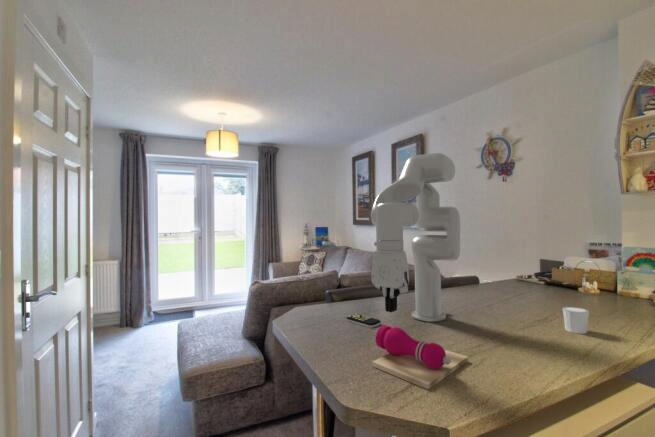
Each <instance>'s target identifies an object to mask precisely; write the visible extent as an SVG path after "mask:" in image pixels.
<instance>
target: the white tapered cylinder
mask: <svg viewBox="0 0 655 437" xmlns="http://www.w3.org/2000/svg"><path fill="white" fill-rule="evenodd" d="M589 313H590V312H589V310H587V309H586V308H585V309H584V308H581V307H574V306H565V307H562V314H563V321H564V329H565V331H566V332H567V331H568V332H570V333H574V334H583V335H584V334H587V333H588V326H589Z"/></svg>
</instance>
